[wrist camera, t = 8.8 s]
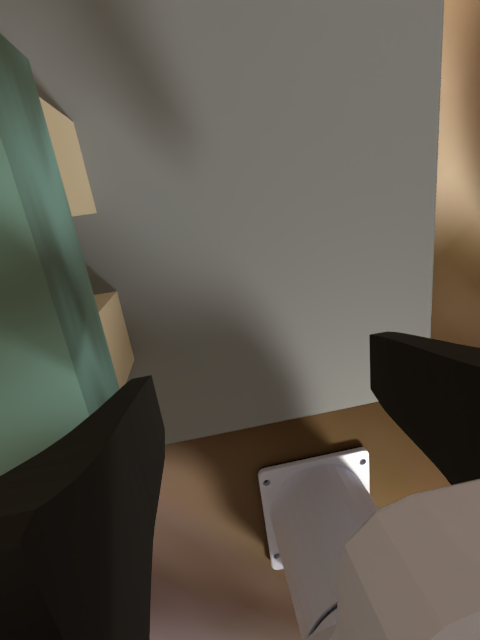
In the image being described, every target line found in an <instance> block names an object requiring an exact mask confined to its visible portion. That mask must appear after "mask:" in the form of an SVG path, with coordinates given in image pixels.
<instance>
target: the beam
mask: <svg viewBox="0 0 480 640" xmlns="http://www.w3.org/2000/svg"><path fill="white" fill-rule="evenodd" d="M119 389H120V388H119V384H118V381H117V377H116V373H115V370H114V366H113V363H112V359H111V355H110V352H109V348H108V345H107V341H106V337H105V334H104V330H103V326H102V323H101V319H100V316H99V312H98V308H97V305H96V301H95V298H94V294H93V290H92V287H91V283H90V279H89V276H88V272H87V269H86V265H85V261H84V258H83V254H82V251H81V247H80V243H79V240H78V236H77V232H76V229H75V225H74V222H73V218H72V214H71V211H70V207H69V203H68V200H67V196H66V193H65V189H64V185H63V182H62V178H61V175H60V171H59V167H58V164H57V160H56V156H55V153H54V149H53V146H52V142H51V138H50V135H49V131H48V128H47V124H46V120H45V117H44V113H43V109H42V106H41V102H40V99H39V95H38V91H37V88H36V84H35V81H34V77H33V73H32V70H31V66H30V62H29V59H28V58H27V57H26V56H24V55H23V54H22V53H21V52H20V51H19V50H18V49H17V48H16V47H15V46H14V45H13V44H12V43H10V42H9V41H8V40H7V39H6V38H5V37H4V36H3V35H2V34H1V33H0V476H1V475H3V474H5V473H6V472H8V471H10V470H11V469H13V468H15V467H16V466H18V465H20V464H22V463H23V462H25V461H27V460H28V459H30V458H32V457H34V456H35V455H37V454H39V453H40V452H42V451H43V450H45V449H46V448H48V447H49V446H51V445H52V444H54V443H55V442H56V441H58V440H59V439H61V438H62V437H64V436H65V435H66V434H68V433H69V432H70V431H72V430H73V429H74V428H75V427H77V426H78V425H79V424H80V423H82V422H83V421H84V420H85V419H86V418H88V417H89V416H90V415H91V414H92V413H94V412H95V411H96V410H97V409H98V408H99V407H100V406H102V405H103V404H104V403H105V402H106V401H107V400H108V399H109V398H110V397H111V396H113V395H114V394H115V393H116V392H117V391H118V390H119Z"/></svg>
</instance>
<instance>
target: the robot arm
mask: <svg viewBox="0 0 480 640" xmlns="http://www.w3.org/2000/svg"><path fill="white" fill-rule="evenodd" d="M369 340H370V389H371V391H372V392H373V394H374V395H375V397H376V398H377V400H378V401H379V403H380V404H381V406H382V407H383V408H384V410H385V411H386V412H387V414H388V415H389V416H390V417H391V418H392V419H393V420H394V421H395V422H396V423H397V425H398V426H399V427H400V428H401V429H402V430H403V431H404V432H405V433H406V434H407V435H408V436H409V437H410V439H411V440H412V441H413V442H414V443H415V444H416V445H417V446H418V447H419V448H420V449H421V450H422V451H423V452H424V453H425V455H426V456H427V457H428V458H429V459H430V460H431V461H432V462H433V463H434V464H435V465H436V467H437V468H438V469H439V470H440V471H441V472H442V474H443V475H444V476H445V477H446V479H447V480H448V481H449V483H450V484H451V485H450V486H446V487H442V488H437V489H433V490H429V491H424V492H420V493H416V494H412V495H410V496H408V497H405V498H403V499H401V500H399V501H396V502H394V503H392V504H390V505H388V506H385V507H383V508H381V509H379V508H378V507H377V505H376V504H375V502H374V500H373V499H372V497H371V496H370V479H369V453H368V451H367V450H366V449H365V448H363V447H359V448H355V449H350V450H345V451H341V452H336V453H331V454H327V455H322V456H317V457H313V458H308V459H304V460H299V461H294V462H290V463H285V464H280V465H276V466H271V467H266V468H263V469H261V470H260V471H259V472H258V479H259V486H260V493H261V499H262V506H263V513H264V519H265V526H266V533H267V539H268V546H269V553H270V559H271V565H272V568H273V569H275V570H280V569H284V571H285V575H286V579H287V583H288V587H289V590H290V594H291V598H292V602H293V606H294V609H295V613H296V617H297V621H298V625H299V628H300V632H301V636H302V640H480V348H477V347H471V346H465V345H460V344H455V343H450V342H445V341H440V340H435V339H430V338H426V337H421V336H416V335H411V334H405V333H399V332H388V331H387V332H381V333H376V334H370V335H369ZM164 459H165V428H164V424H163V420H162V416H161V411H160V407H159V403H158V399H157V395H156V391H155V387H154V383H153V379H152V375H149V376H144V377H138V378H133V379H131V380H129V381H128V382H127V383H126V384H125V385H123V386H122V387H121V388H120V389H119V390H118V391H117V392H116V393H115V394H114V395H113V396H111V397H110V398H109V399H108V400H107V401H106V402H105V403H104V404H103V405H102V406H100V407H99V408H98V409H97V410H96V411H95V412H94V413H92V414H91V415H90V416H89V417H88V418H86V419H85V420H84V421H83V422H82V423H80V424H79V425H78V426H77V427H75V428H74V429H73V430H72V431H70V432H69V433H68V434H66V435H65V436H64V437H62V438H61V439H59V440H58V441H56V442H55V443H54V444H52V445H51V446H49V447H48V448H46V449H45V450H43V451H42V452H40V453H39V454H37V455H35V456H34V457H32V458H30V459H28V460H27V461H25V462H23V463H22V464H20V465H18V466H16V467H15V468H13V469H11V470H10V471H8V472H6V473H5V474H3V475H1V476H0V640H149V633H150V597H151V571H152V550H153V536H154V526H155V519H156V513H157V506H158V500H159V493H160V487H161V480H162V473H163V467H164ZM362 459H363V460H362ZM360 460H362V461H360ZM265 480H268V481H267V482H264V481H265Z"/></svg>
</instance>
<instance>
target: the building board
mask: <svg viewBox="0 0 480 640" xmlns="http://www.w3.org/2000/svg"><path fill="white" fill-rule="evenodd" d="M443 13H444V0H0V33H1V34H2V35H3V36H4V37H5V38H6V39H7V40H8V41H9V42H10V43H12V44H13V45H14V46H15V47H16V48H17V49H18V50H19V51H20V52H21V53H22V54H23V55H24V56H26V57H27V58H28V59H29V62H30V66H31V70H32V73H33V77H34V81H35V84H36V88H37V91H38V95H39V99H40V102H41V106H42V109H43V113H44V117H45V120H46V124H47V128H48V131H49V135H50V138H51V142H52V146H53V149H54V153H55V156H56V160H57V164H58V167H59V171H60V175H61V178H62V182H63V185H64V189H65V193H66V196H67V200H68V203H69V207H70V211H71V214H72V218H73V222H74V225H75V229H76V232H77V236H78V240H79V243H80V247H81V251H82V254H83V258H84V261H85V265H86V269H87V272H88V276H89V279H90V283H91V287H92V290H93V294H94V298H95V301H96V305H97V308H98V312H99V316H100V319H101V323H102V326H103V330H104V334H105V337H106V341H107V345H108V348H109V352H110V355H111V359H112V363H113V366H114V370H115V373H116V377H117V381H118V384H119V388H121V387H122V386H123V385H125V384H126V383H127V382H128V381H129V380H131V379H133V378H138V377H144V376H149V375H152V379H153V383H154V387H155V391H156V395H157V399H158V403H159V407H160V411H161V416H162V420H163V424H164V428H165V445H167V444H172V443H177V442H182V441H187V440H192V439H197V438H202V437H207V436H211V435H216V434H221V433H226V432H231V431H236V430H241V429H246V428H251V427H256V426H261V425H265V424H270V423H275V422H280V421H285V420H290V419H295V418H300V417H305V416H310V415H315V414H320V413H324V412H329V411H334V410H339V409H344V408H349V407H354V406H359V405H364V404H369V403H374V402H379V401H378V400H377V398H376V397H375V395H374V394H373V392H372V391H371V389H370V340H369V335H370V334H376V333H381V332H387V331H388V332H399V333H405V334H411V335H416V336H421V337H426V338H430V331H431V307H432V282H433V258H434V233H435V209H436V184H437V160H438V135H439V111H440V86H441V62H442V37H443Z"/></svg>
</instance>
